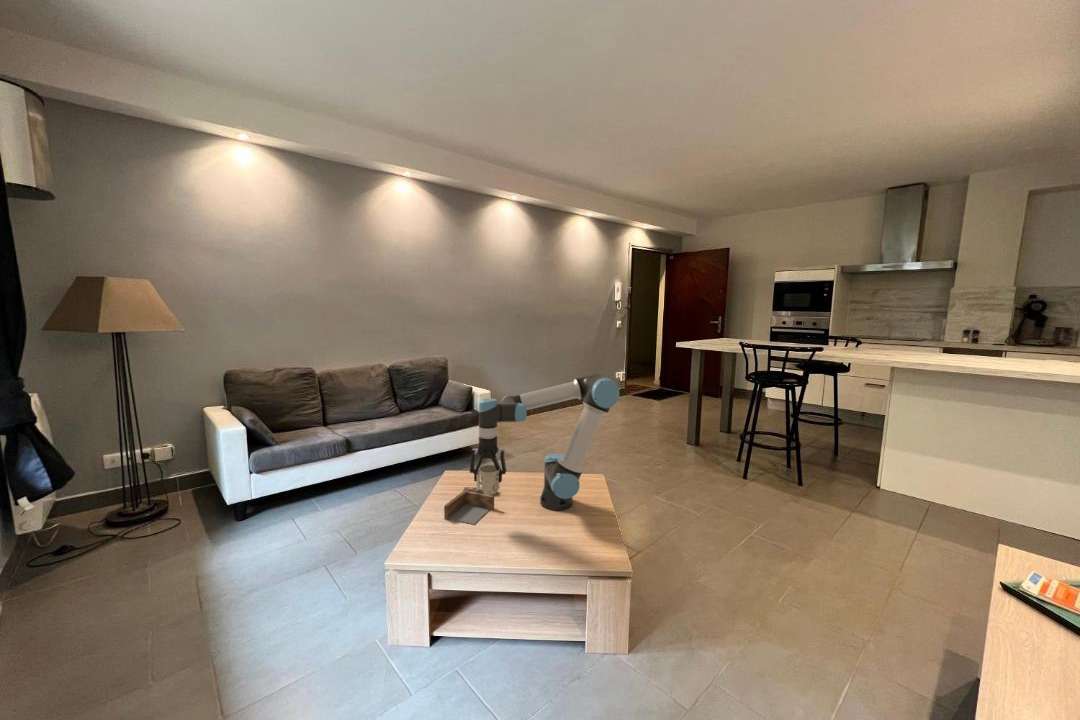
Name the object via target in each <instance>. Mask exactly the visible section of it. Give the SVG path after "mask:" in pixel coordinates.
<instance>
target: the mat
mask: <svg viewBox="0 0 1080 720" xmlns="http://www.w3.org/2000/svg"><path fill="white" fill-rule="evenodd" d="M490 510H491V509H488V508H483V507H478V506H473V505H468V504H465V505H464V506H463V507H462V508H460V509H459V510H458V511H457V512H456V513H454V514H453V515H452V516H451V517H450V518H448V520H450V521H454V522H459V523H462V524H463V523H465V524H469V525H473V526H474V525H476V524H477V523H478V522H479V521H480V520H482V518H483V517H484V516H485V515H486V514H487V513H488V512H489V511H490Z"/></svg>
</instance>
